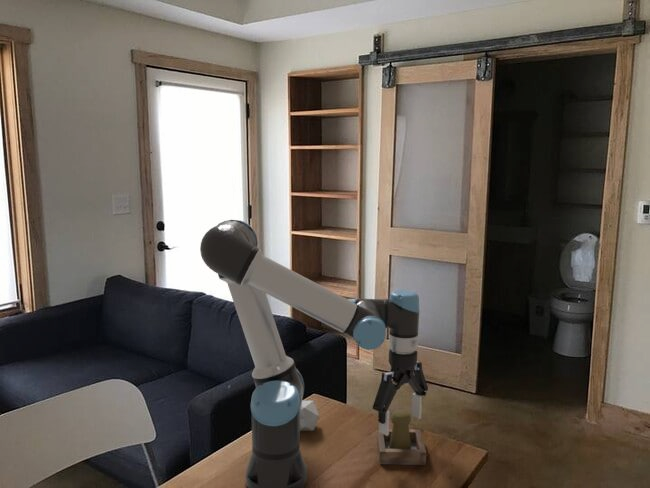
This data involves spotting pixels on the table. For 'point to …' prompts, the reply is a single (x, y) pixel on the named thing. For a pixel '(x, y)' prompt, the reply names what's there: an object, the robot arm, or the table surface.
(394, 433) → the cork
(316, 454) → the table surface
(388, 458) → the wooden tray
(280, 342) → the robot arm
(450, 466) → the table surface
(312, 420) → the die
